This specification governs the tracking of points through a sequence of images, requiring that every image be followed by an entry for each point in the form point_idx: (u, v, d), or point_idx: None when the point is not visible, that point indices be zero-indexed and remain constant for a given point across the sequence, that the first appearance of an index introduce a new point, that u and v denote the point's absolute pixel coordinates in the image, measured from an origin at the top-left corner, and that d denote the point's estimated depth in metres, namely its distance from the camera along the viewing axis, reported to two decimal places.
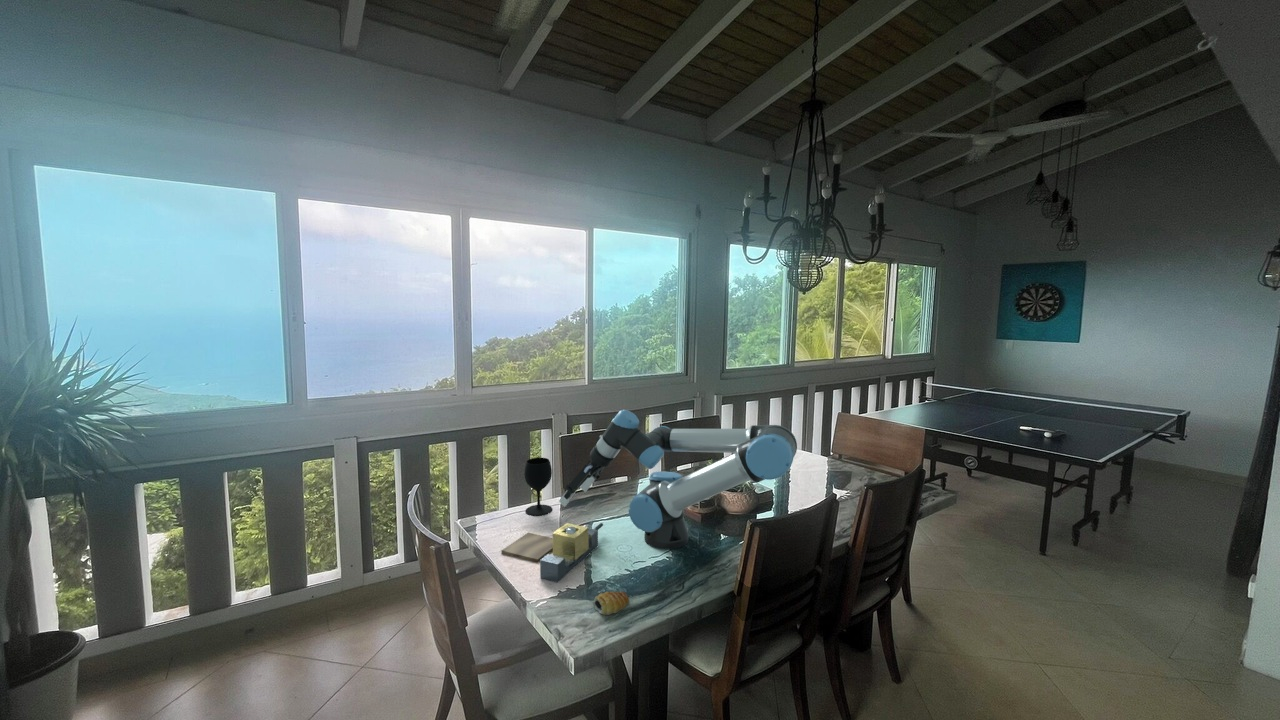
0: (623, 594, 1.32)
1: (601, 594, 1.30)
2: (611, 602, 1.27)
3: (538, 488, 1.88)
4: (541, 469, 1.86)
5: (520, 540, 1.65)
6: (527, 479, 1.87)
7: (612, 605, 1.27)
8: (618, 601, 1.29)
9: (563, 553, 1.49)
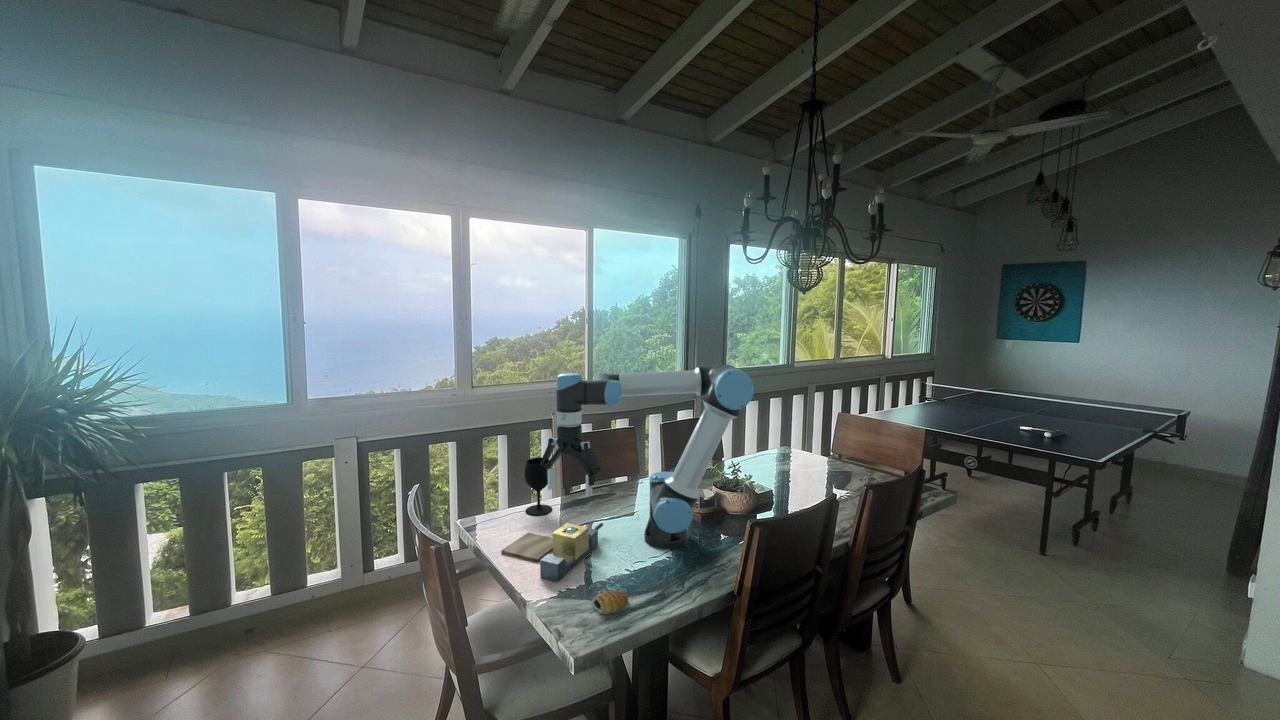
0: (622, 593, 1.32)
1: (600, 594, 1.30)
2: (610, 601, 1.27)
3: (538, 488, 1.88)
4: (541, 469, 1.86)
5: (520, 540, 1.65)
6: (527, 479, 1.87)
7: (612, 605, 1.27)
8: (617, 600, 1.29)
9: (563, 553, 1.49)
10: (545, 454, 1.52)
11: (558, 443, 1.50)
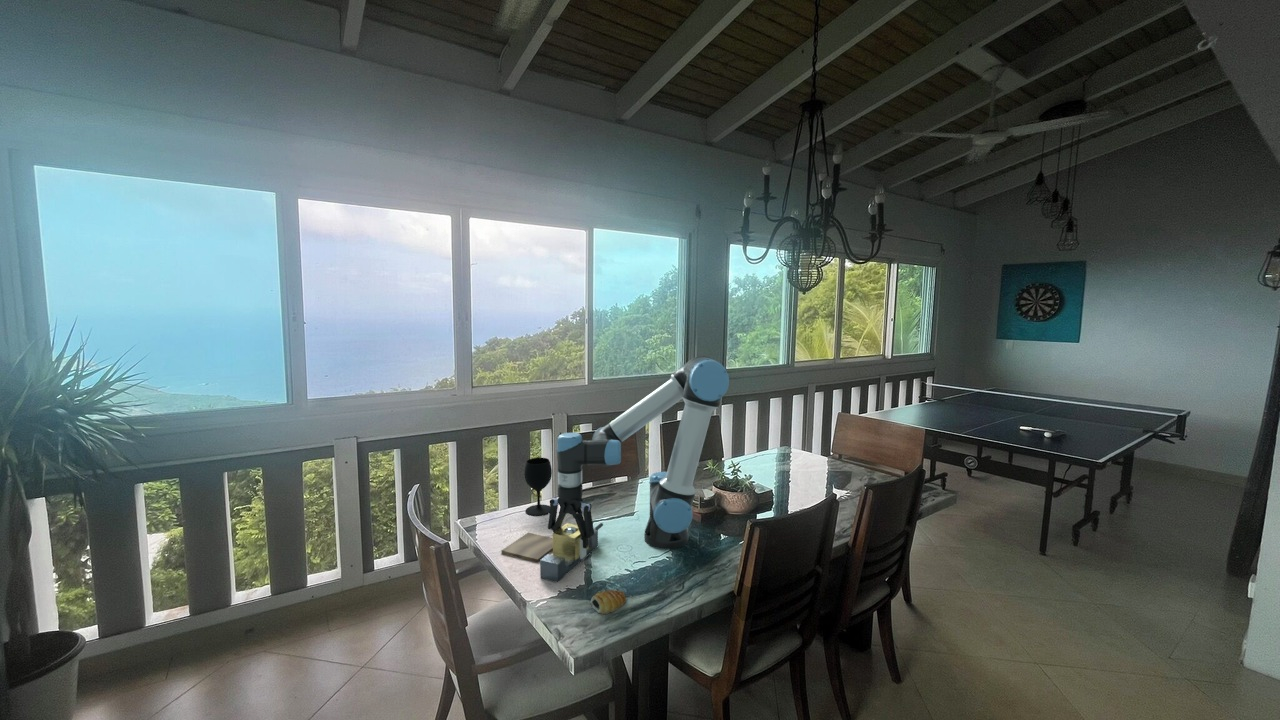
0: (620, 593, 1.32)
1: (598, 593, 1.31)
2: (609, 601, 1.28)
3: (538, 488, 1.88)
4: (541, 469, 1.86)
5: (520, 540, 1.65)
6: (527, 479, 1.87)
7: (610, 604, 1.27)
8: (616, 599, 1.29)
9: (563, 553, 1.49)
10: (550, 517, 1.54)
11: (559, 502, 1.52)
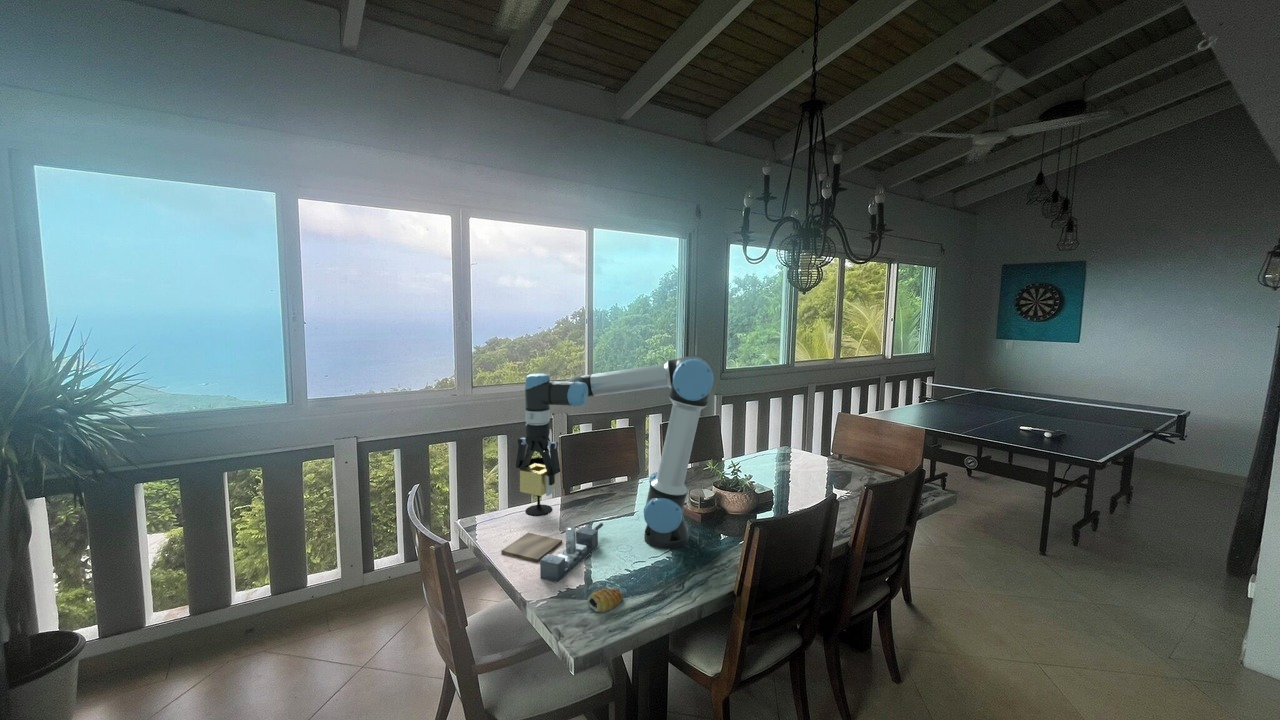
0: (616, 591, 1.33)
1: (595, 592, 1.31)
2: (606, 599, 1.28)
3: None
4: None
5: (520, 540, 1.65)
6: None
7: (608, 602, 1.28)
8: (613, 598, 1.30)
9: (530, 489, 1.54)
10: (518, 455, 1.58)
11: (527, 441, 1.56)
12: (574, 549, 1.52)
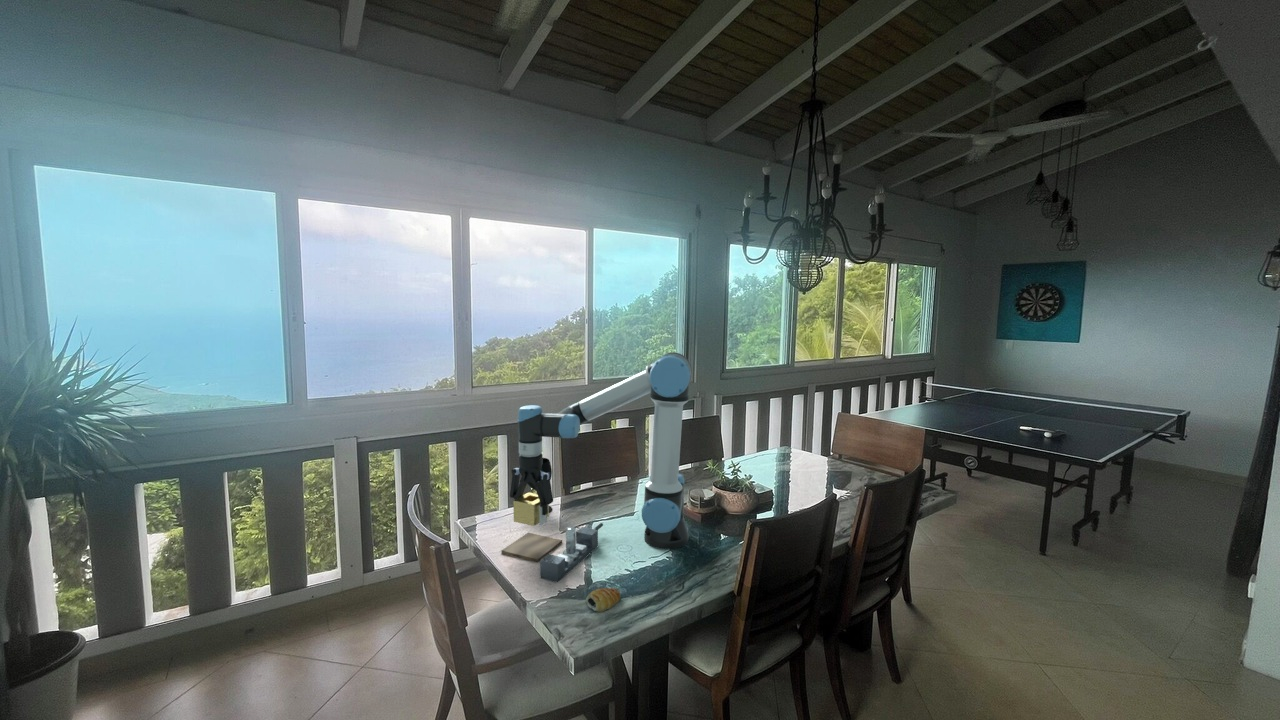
0: (615, 590, 1.34)
1: (593, 591, 1.31)
2: (605, 598, 1.29)
3: None
4: None
5: (520, 540, 1.65)
6: None
7: (606, 602, 1.28)
8: (611, 597, 1.30)
9: (523, 519, 1.57)
10: (512, 485, 1.61)
11: (520, 471, 1.59)
12: (574, 549, 1.52)
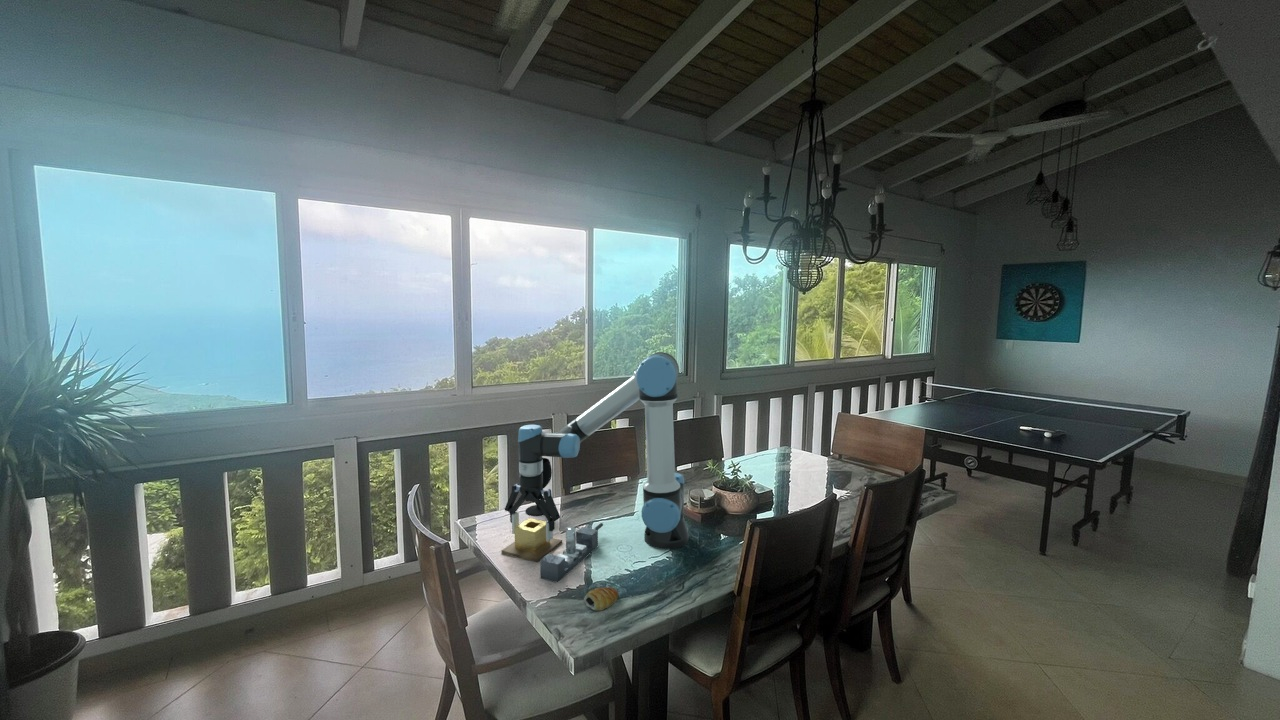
0: (612, 589, 1.34)
1: (592, 591, 1.32)
2: (603, 598, 1.29)
3: None
4: None
5: None
6: None
7: (605, 601, 1.29)
8: (609, 596, 1.31)
9: (524, 546, 1.58)
10: (509, 500, 1.62)
11: (521, 490, 1.60)
12: (574, 549, 1.52)
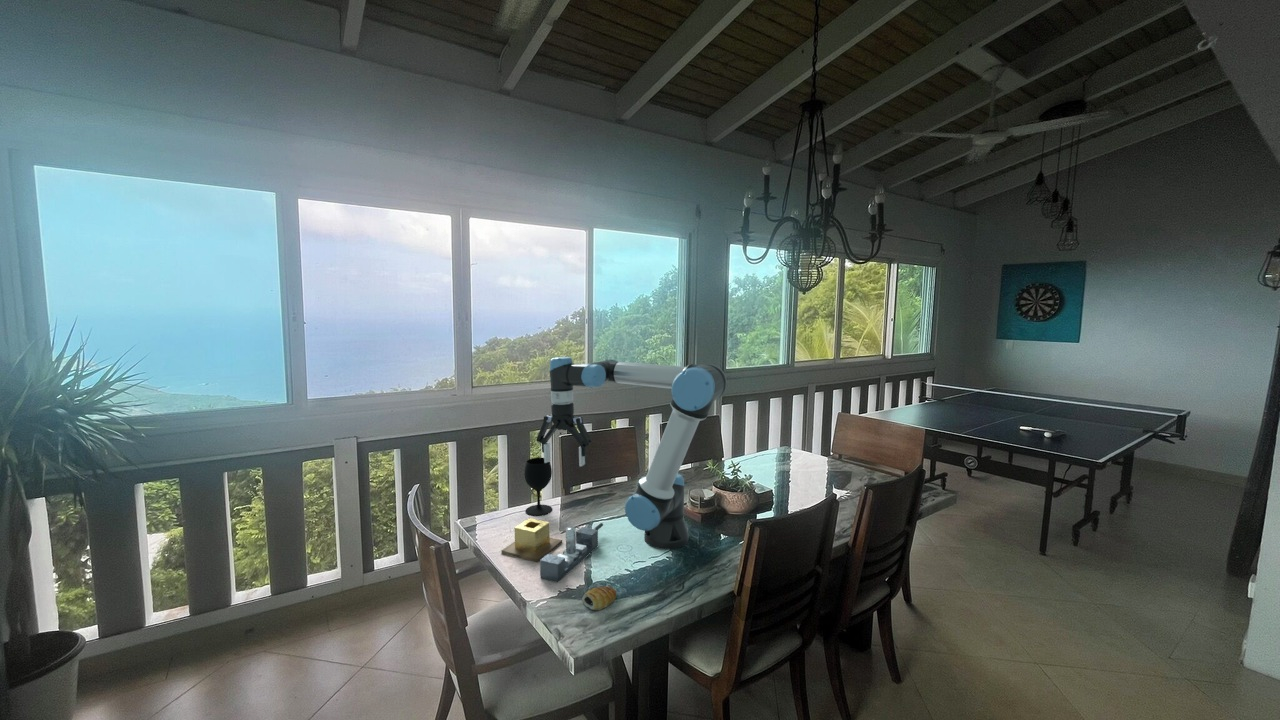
0: (611, 588, 1.34)
1: (590, 590, 1.32)
2: (602, 597, 1.29)
3: (538, 488, 1.88)
4: (541, 469, 1.86)
5: None
6: (527, 479, 1.87)
7: (603, 600, 1.29)
8: (608, 595, 1.31)
9: (524, 546, 1.58)
10: (541, 431, 1.69)
11: (553, 420, 1.68)
12: (574, 549, 1.52)
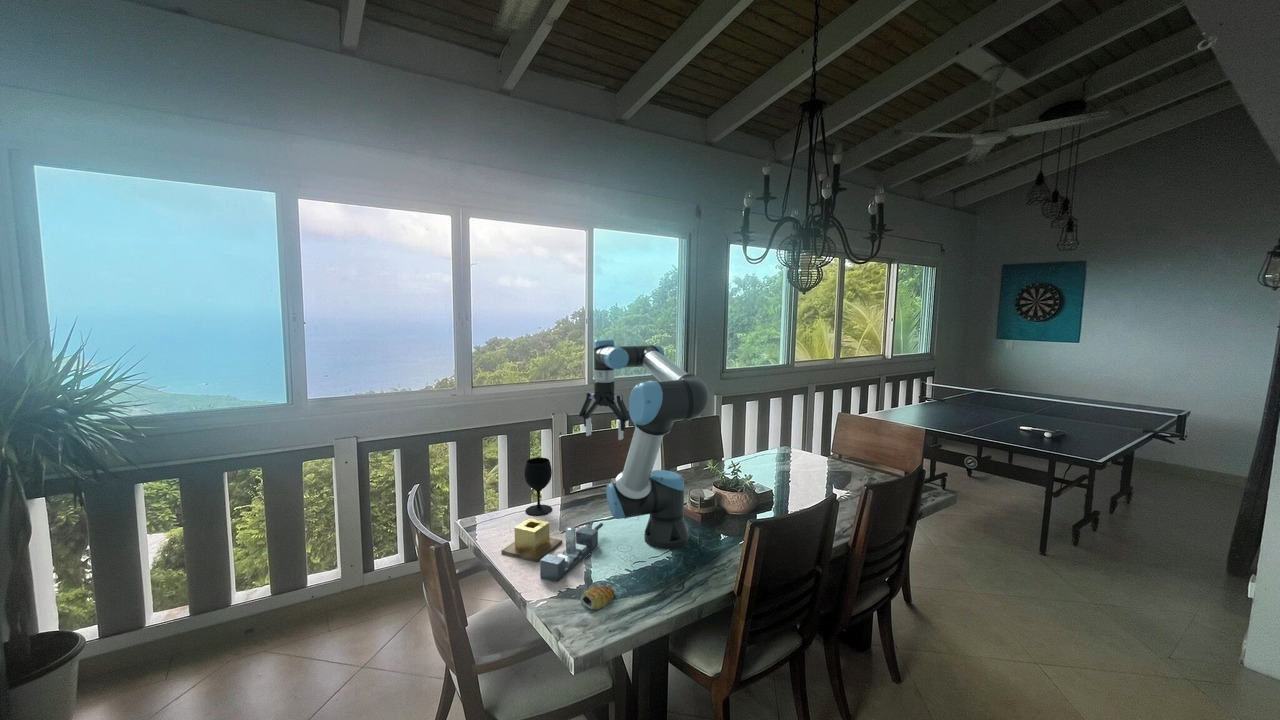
0: (609, 587, 1.35)
1: (588, 590, 1.32)
2: (600, 596, 1.30)
3: (538, 488, 1.88)
4: (541, 469, 1.86)
5: None
6: (527, 479, 1.87)
7: (602, 599, 1.29)
8: (606, 594, 1.31)
9: (524, 546, 1.58)
10: (584, 406, 1.85)
11: (595, 397, 1.82)
12: (574, 549, 1.52)
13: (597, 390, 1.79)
